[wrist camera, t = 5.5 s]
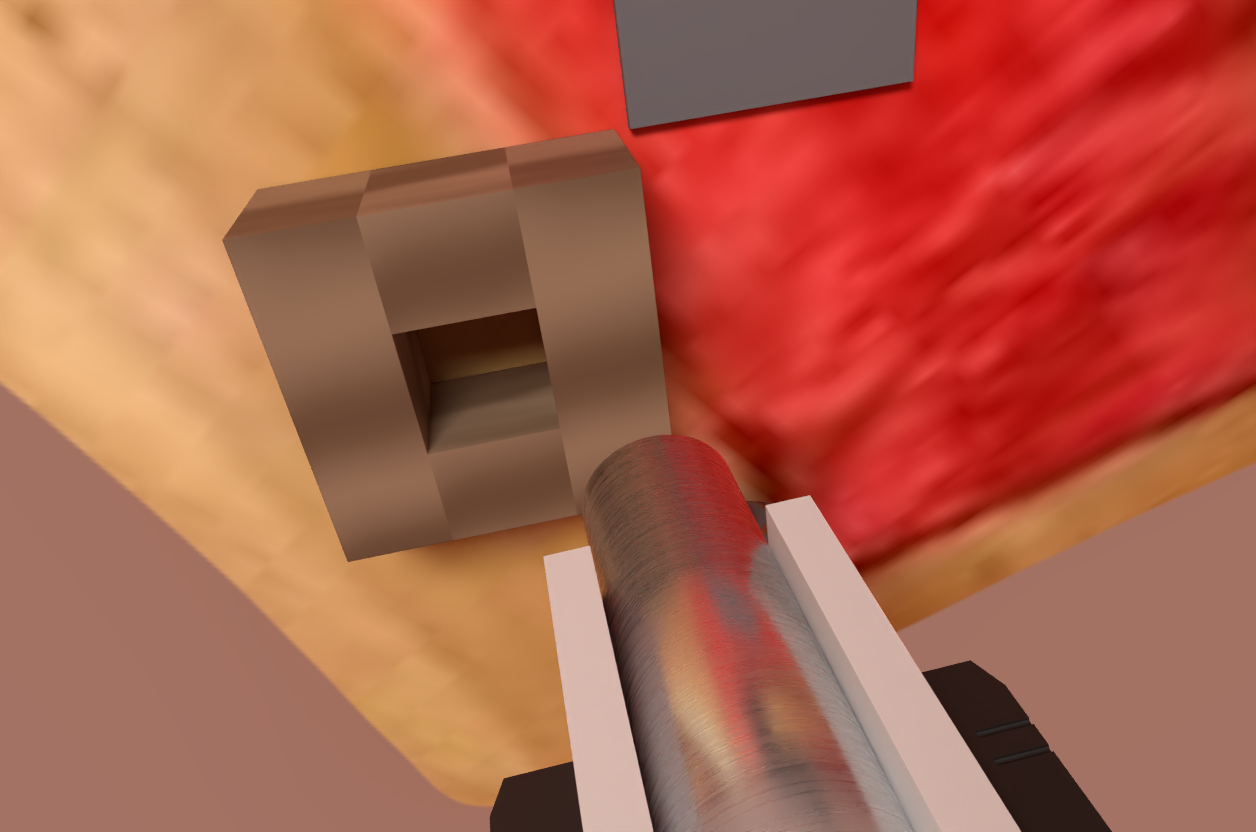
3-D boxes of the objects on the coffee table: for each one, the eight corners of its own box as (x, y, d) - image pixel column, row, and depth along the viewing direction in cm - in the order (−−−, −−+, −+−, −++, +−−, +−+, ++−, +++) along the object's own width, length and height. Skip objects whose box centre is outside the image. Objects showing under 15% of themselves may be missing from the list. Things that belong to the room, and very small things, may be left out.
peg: (569, 453, 16) (783, 1432, 6) (727, 419, 16) (1216, 1296, 6) (595, 577, 17) (803, 1526, 7) (740, 544, 18) (1142, 1415, 7)
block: (257, 189, 29) (222, 240, 24) (613, 129, 29) (640, 167, 25) (361, 481, 35) (348, 561, 31) (652, 424, 36) (678, 494, 32)
